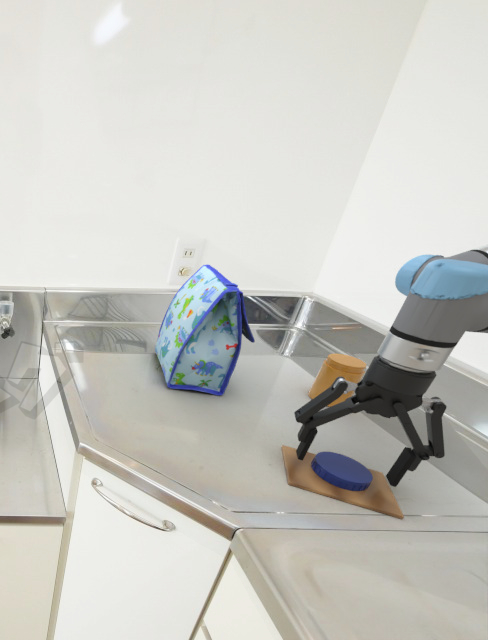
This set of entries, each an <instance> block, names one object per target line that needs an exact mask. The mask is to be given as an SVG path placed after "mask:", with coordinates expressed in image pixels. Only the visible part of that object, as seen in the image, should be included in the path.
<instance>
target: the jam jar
mask: <svg viewBox="0 0 488 640" xmlns="http://www.w3.org/2000/svg"><path fill="white" fill-rule="evenodd" d="M366 369H367V363H366V362H364V361H363V360H362V359H359V358H358V357H355V356H351V355H348V354H344V353H329V354H328V355H327V357H326V359H324V360H323V362H322V364H321V366H320V367H319V370H318V372H317V374H316V376H315V378H314V380H313V382H312V384H311V386H310V389H309V390H308V392H307V395H308V397H309V398H310V399H311V400H312V399H314V398H315V397H316V396H318V395H319V394H321V393H322V392H324V391H325V390H326V389H328V388H329V387H331V385H332V384H333V382H334V381H335V379H336V378H337V377H340V376H341V377H344V378H345V380H346V381H350V382H353V383H356V384H357V383H359V382H360V381H361V380H362V379H363V377H364V375H365V373H366V371H365V370H366ZM354 395H355V392H354V391H349V392H348V393H347V394H342V395H341V396H340V397H339V398H338V399H336V400H335V401H333V402H332V403H331V404H329V405H328V406H327V408H329V407H331V406H333V405H336V404H338V403H341V402H343V401H345V400H346V399H347V398H349V397H351V396H354Z"/></svg>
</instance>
